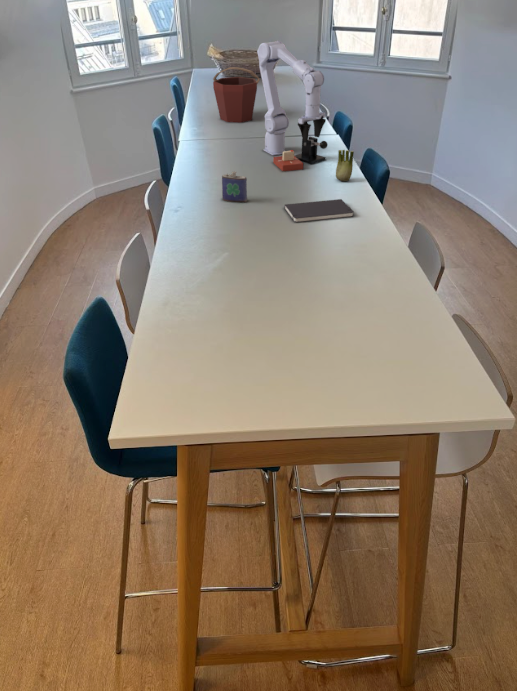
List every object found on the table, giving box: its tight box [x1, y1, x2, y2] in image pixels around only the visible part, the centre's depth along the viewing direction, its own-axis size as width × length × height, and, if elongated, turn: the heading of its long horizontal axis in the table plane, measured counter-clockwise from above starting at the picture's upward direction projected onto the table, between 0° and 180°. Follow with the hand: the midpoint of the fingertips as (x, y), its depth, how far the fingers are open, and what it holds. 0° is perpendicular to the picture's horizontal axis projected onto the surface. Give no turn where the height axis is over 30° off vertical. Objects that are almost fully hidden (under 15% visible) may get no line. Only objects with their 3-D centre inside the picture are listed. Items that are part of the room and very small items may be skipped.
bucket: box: [212, 66, 261, 124], centre depth 298 cm, size 24×22×25 cm
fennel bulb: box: [335, 149, 355, 182], centre depth 223 cm, size 6×5×12 cm
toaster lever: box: [308, 138, 328, 150], centre depth 242 cm, size 11×3×3 cm, turn 43°
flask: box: [221, 170, 248, 203], centre depth 206 cm, size 9×3×11 cm, turn 74°
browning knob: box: [282, 149, 295, 161], centre depth 239 cm, size 5×2×4 cm, turn 107°
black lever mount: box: [294, 136, 326, 165], centre depth 246 cm, size 11×9×9 cm
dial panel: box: [272, 155, 304, 172], centre depth 240 cm, size 12×9×3 cm
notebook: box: [284, 198, 354, 223], centre depth 199 cm, size 13×2×21 cm
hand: (311, 138), depth 239 cm, fingers open, 7 cm apart
